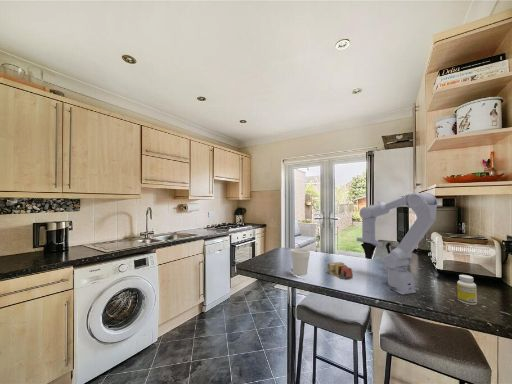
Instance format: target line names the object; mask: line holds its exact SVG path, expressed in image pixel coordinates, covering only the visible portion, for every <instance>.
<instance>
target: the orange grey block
mask: <svg viewBox="0 0 512 384" xmlns="http://www.w3.org/2000/svg"><path fill="white" fill-rule="evenodd" d="M341 271H343V272H344V276H346V277H348V276H352V275H353V269H352V268H351V267H348V265H346V267H341V268H340V273H341Z"/></svg>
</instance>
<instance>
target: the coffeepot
mask: <svg viewBox="0 0 512 384" xmlns="http://www.w3.org/2000/svg"><path fill="white" fill-rule="evenodd" d="M401 241H402V239H401V240H398V243H393V242H387V243H386V244H385V247H386V252H387V254H389V253H390V252H391V251H392V250H393V249H395V248H397V247H398V245H399V244H400V242H401ZM407 271H408V272H410V273H412V270H411V265H410V264H409V265H408V266H407Z"/></svg>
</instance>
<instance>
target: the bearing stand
mask: <svg viewBox="0 0 512 384" xmlns="http://www.w3.org/2000/svg"><path fill="white" fill-rule="evenodd" d="M336 264H344V265H345V263H344V262H342V261H337V262H327V274H329V275H333V276H335V277H336V278H340V279H341V280H348V279H353V274H352V276H348V277H346V276H344V272H343V271H341V275H337V274H335V273H334V265H336Z"/></svg>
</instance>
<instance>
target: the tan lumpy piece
mask: <svg viewBox="0 0 512 384" xmlns="http://www.w3.org/2000/svg"><path fill="white" fill-rule="evenodd" d="M346 266H347V265H346V264H345V263H344V264H336V265H334V273H335V274H337V275H341V273H340V268H341V267H346Z"/></svg>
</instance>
